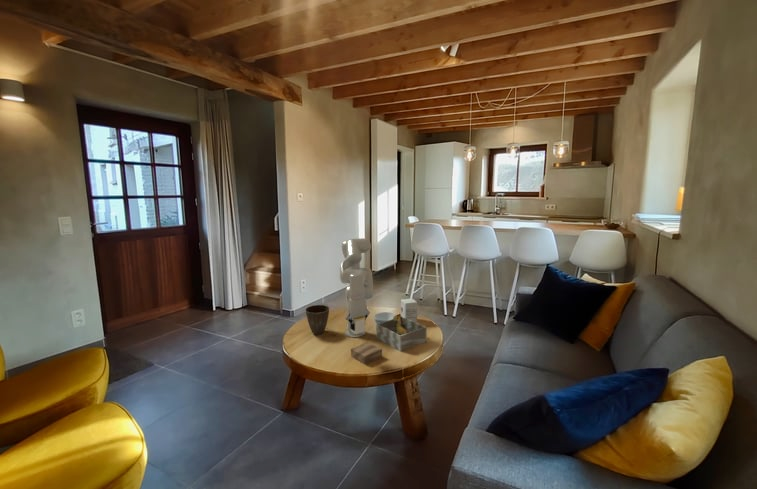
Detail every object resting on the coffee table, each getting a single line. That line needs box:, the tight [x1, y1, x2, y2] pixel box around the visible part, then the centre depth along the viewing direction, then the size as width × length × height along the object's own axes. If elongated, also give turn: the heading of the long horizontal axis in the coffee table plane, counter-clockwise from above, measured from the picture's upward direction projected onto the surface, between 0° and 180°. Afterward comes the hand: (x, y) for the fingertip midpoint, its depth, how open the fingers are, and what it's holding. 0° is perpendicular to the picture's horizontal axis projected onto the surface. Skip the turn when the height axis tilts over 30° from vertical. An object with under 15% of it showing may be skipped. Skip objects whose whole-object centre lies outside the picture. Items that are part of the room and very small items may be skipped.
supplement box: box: [400, 297, 418, 323], centre depth 235 cm, size 9×9×15 cm
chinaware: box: [373, 311, 396, 324], centre depth 226 cm, size 15×15×8 cm
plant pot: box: [305, 304, 330, 335], centre depth 218 cm, size 15×15×16 cm
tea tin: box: [350, 316, 366, 334], centre depth 182 cm, size 6×6×8 cm
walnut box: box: [350, 342, 383, 365], centre depth 186 cm, size 12×12×5 cm
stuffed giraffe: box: [393, 313, 407, 335], centre depth 206 cm, size 16×18×16 cm
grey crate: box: [375, 317, 428, 352], centre depth 207 cm, size 23×21×9 cm
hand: (357, 328), depth 183 cm, fingers closed on tea tin, 5 cm apart
